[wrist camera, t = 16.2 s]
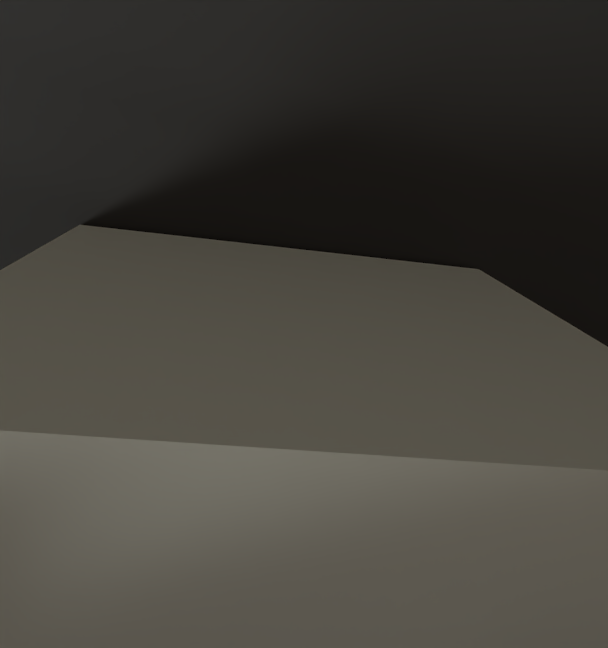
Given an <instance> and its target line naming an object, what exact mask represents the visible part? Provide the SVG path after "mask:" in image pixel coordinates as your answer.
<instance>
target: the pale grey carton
mask: <svg viewBox="0 0 608 648" xmlns="http://www.w3.org/2000/svg"><path fill="white" fill-rule="evenodd" d="M0 648H608V347H607V346H606V345H604V344H602V343H601V342H599V341H597V340H596V339H594V338H592V337H591V336H589V335H587V334H586V333H584V332H582V331H581V330H579V329H577V328H576V327H574V326H572V325H571V324H569V323H567V322H566V321H564V320H562V319H561V318H559V317H557V316H556V315H554V314H552V313H551V312H549V311H547V310H546V309H544V308H542V307H541V306H539V305H537V304H536V303H534V302H532V301H531V300H529V299H527V298H526V297H524V296H522V295H521V294H519V293H517V292H516V291H514V290H513V289H511V288H509V287H508V286H506V285H504V284H503V283H501V282H499V281H498V280H496V279H494V278H493V277H491V276H489V275H488V274H486V273H484V272H483V271H481V270H479V269H473V268H464V267H455V266H446V265H437V264H428V263H419V262H410V261H401V260H392V259H383V258H374V257H365V256H356V255H347V254H338V253H329V252H320V251H311V250H302V249H293V248H284V247H275V246H266V245H257V244H248V243H240V242H231V241H222V240H213V239H204V238H195V237H186V236H177V235H168V234H159V233H150V232H141V231H132V230H123V229H114V228H105V227H96V226H87V225H78V226H77V227H75V228H73V229H71V230H70V231H68V232H66V233H64V234H63V235H61V236H59V237H57V238H56V239H54V240H52V241H50V242H49V243H47V244H45V245H43V246H42V247H40V248H38V249H37V250H35V251H33V252H31V253H30V254H28V255H26V256H24V257H23V258H21V259H19V260H17V261H16V262H14V263H12V264H10V265H9V266H7V267H5V268H3V269H2V270H0Z"/></svg>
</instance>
